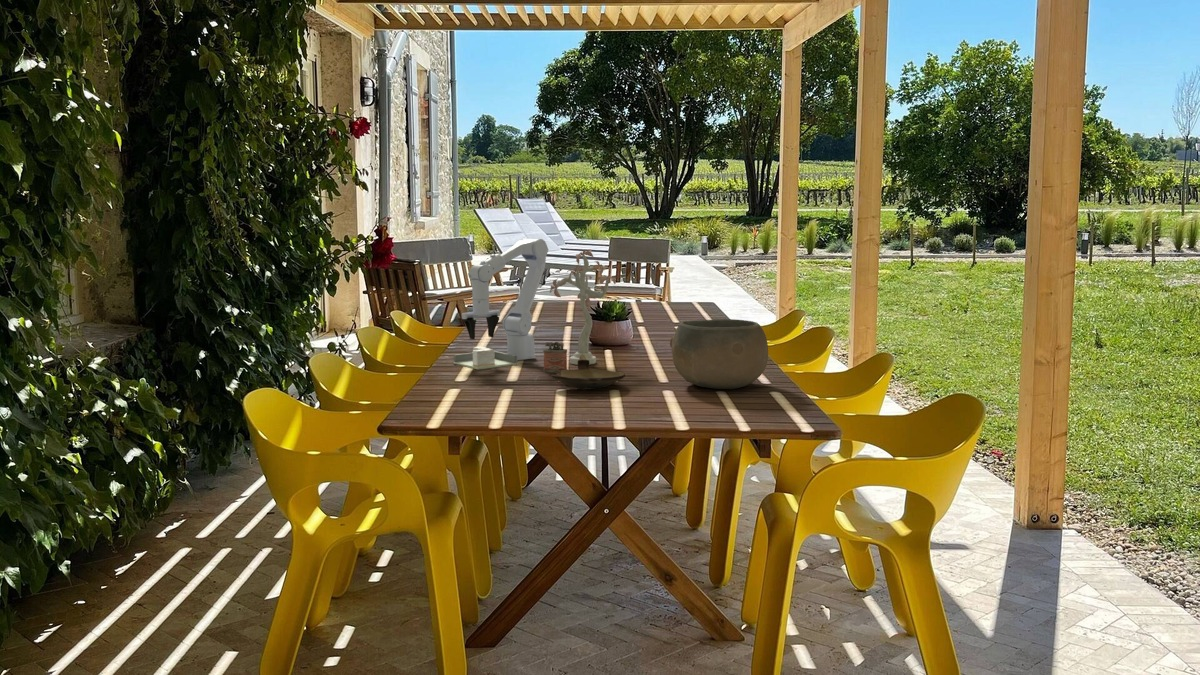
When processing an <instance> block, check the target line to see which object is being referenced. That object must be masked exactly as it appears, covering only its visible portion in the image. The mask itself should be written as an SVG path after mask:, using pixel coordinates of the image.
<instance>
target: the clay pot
mask: <svg viewBox="0 0 1200 675" xmlns="http://www.w3.org/2000/svg"><path fill="white" fill-rule="evenodd" d="M669 347H670V348H671V355H672V362H673V365H674V367H675V370H676V371H677V372H678V374H679V375H680V376H681V377H682V378H683V379H684V380H685V382H688V383H690V384H692V385H694V386H697V387H703V388H707V389H714V390H733V389H740V388H744V387H746V386H748V385H750V384H752V383H754V382H756V380H758V378H760V377H761V375H762V374H764V372H765V370H766V368H767V365H768V361H769V346H768V338H767V335H766V333H765V331H764V329H763V328H762V326H761V325H760V324H759V323H758V322H757V321H753V320H745V319H735V318H734V319H732V318H730V319H726V318H725V319H724V318H723V319H722V318H721V319H718V318H717V319H715V318H714V319H699V320H698V319H697V320H682V321H681V322H680V323H679V324H678V326H677V327H676V328H675V331H674V335H673V336H671V338H670V342H669Z"/></svg>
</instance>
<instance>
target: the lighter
mask: <svg viewBox="0 0 1200 675" xmlns="http://www.w3.org/2000/svg"><path fill="white" fill-rule="evenodd" d="M564 344H565V343H564V342H558V341H555V342H553V341H552V342H550V341H549V342H545V347H548V348H544V349H542V350H543V351H542V352H543V373H557V372H558V371H561V370H568V355H567V354H568V348H567V349H566V348H564V347H565V345H564Z"/></svg>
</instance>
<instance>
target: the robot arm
mask: <svg viewBox="0 0 1200 675" xmlns="http://www.w3.org/2000/svg"><path fill="white" fill-rule="evenodd" d="M548 253H549V248H548V245H547V243H546V241H545V240H544V239H543V238H538V239H537V238H535V239H534V238H525V237H523V238H522V239H520V240H518V241H516V243H515V244H513V246H510V248H508V249H507V250H505V251H504V252H502V253H501V254H499V253H492V254H490V255H489V256H490V257H488V258H487V259H485V260H482V261H480V263H479V264H474V265H472V266H470V269H469V272H468V273H467V275H468V278H469V279H470V284H471V287H472V288H471V289H472V296H471V297H472V298H471V299H472V311H469V312H468V311H467V312H462V313H461V319H462V321H463V323H464V325H465V327H466V330H467V332H468V337H469V340H475V338H476V324H477V320H476V319H479V318H485V319H486V322H487V334H488V337H489V338H494V335H495V330H496V328H497V325H498V323H499V321H500V316H501V310H498V309H495V310H492V309H491V310H490V288H489V287H490V286H489V285H490V281H491V280H492V277H493V276H494V275H496V274H497V273H498V272H501V271H502V270H503V269H504V268H505V267H506V263H508V262H511V261H512V260H514V259H516V258H518V257H519V256H522V258H523V259H524V260H525V261H526V263H527V264H528V270H527V272H526V275H525V277H524V280H523V283H522V285H521V289H520V291H519V294H518V297H517V299H516V302H515V306H513V307H512V308H511V309H509V310H508V313H507V315H506V316H505V317H504V318H503V320H502V328H503V330H504V331H505V334H506V341H507V346H506V348H507V352H506V353H507V354H511V355H516V356H517V361H523V360H524V361H525V360H531V359H536V358H537V357H536V352H535V351H536V350H535V338H534V336H533V334H531V333H530V331H531V330H532V321H533V317H534V316H533V315H532V313H531V311H530V310H531V307H532V305H533V302H534V299H535V297H536V295H537V291H538V289H539V286H540V283H541V280H542V278H543V275H544V271H545V270H546V261H547V255H548Z"/></svg>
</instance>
